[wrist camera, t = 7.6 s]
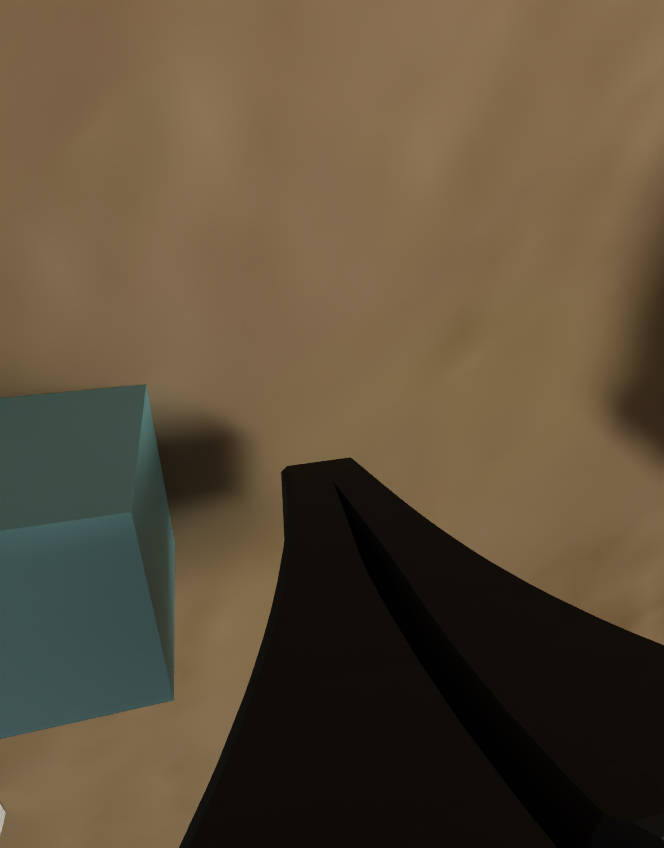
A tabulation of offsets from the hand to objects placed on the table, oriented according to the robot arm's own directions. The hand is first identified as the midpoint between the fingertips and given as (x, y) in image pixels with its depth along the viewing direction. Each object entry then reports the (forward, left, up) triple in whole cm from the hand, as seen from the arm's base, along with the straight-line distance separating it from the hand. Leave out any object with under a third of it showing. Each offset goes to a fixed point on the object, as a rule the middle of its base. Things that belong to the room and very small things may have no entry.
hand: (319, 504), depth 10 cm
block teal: (0, +5, -2) cm, 5 cm away
